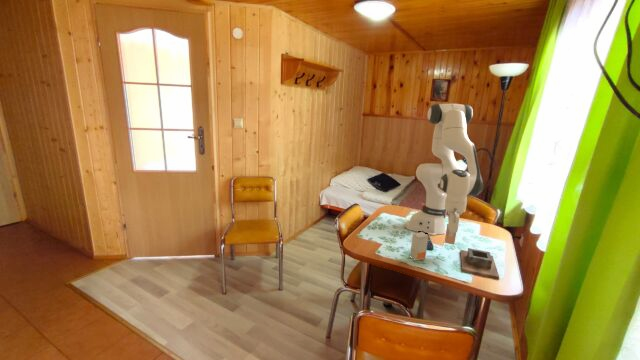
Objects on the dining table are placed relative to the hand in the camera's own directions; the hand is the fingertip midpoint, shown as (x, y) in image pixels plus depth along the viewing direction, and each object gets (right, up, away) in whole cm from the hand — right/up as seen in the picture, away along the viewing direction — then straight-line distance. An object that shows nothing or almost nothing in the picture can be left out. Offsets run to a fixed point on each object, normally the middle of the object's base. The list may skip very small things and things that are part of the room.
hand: (450, 233), depth 139 cm
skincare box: (-15, -12, +2) cm, 19 cm away
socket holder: (+12, -14, -2) cm, 18 cm away
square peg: (0, -4, +1) cm, 4 cm away
